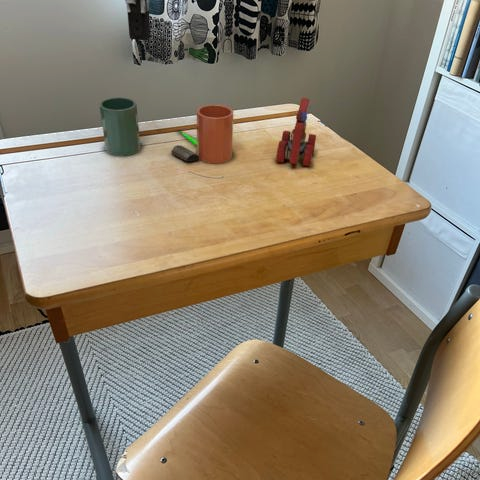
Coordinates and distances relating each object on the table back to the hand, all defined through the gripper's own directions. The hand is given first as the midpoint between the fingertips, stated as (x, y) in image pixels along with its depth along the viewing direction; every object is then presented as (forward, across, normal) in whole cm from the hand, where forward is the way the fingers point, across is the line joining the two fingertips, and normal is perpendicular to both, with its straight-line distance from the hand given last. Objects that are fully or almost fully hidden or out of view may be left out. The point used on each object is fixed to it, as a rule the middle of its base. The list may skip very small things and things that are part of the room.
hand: (140, 38), depth 86 cm
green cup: (+22, -6, -7) cm, 24 cm away
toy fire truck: (+22, -8, +29) cm, 37 cm away
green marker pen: (+23, -11, +8) cm, 26 cm away
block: (+22, -4, +6) cm, 24 cm away
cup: (+22, -6, +12) cm, 26 cm away
